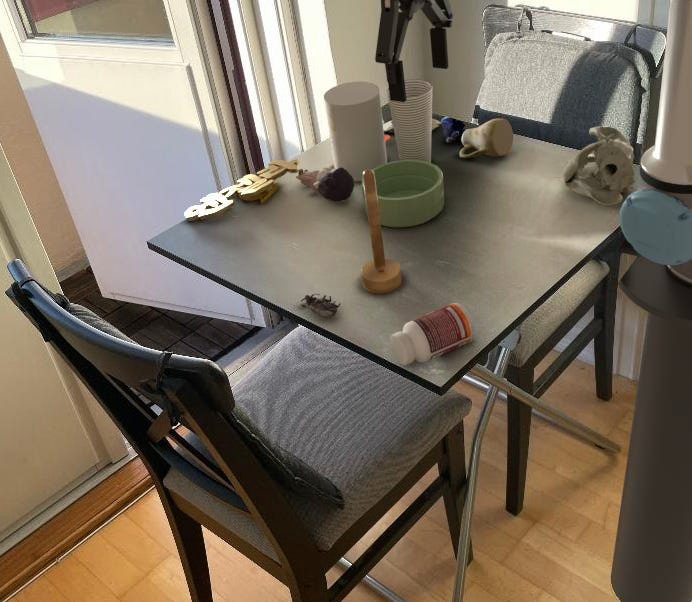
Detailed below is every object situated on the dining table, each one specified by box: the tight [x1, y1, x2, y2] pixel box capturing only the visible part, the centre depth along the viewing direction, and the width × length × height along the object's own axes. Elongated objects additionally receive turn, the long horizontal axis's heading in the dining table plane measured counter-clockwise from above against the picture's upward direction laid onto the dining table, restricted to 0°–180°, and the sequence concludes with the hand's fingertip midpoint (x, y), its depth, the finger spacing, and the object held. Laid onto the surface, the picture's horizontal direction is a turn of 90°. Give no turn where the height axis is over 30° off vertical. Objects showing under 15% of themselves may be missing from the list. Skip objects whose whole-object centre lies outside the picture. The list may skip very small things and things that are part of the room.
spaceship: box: [440, 115, 466, 144], centre depth 164 cm, size 7×6×5 cm
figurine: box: [295, 165, 356, 203], centre depth 154 cm, size 10×6×15 cm
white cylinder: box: [323, 81, 388, 182], centre depth 157 cm, size 10×10×16 cm
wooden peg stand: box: [360, 169, 403, 295], centre depth 125 cm, size 6×6×20 cm
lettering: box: [184, 158, 300, 222], centre depth 158 cm, size 25×10×1 cm, turn 124°
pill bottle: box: [389, 302, 475, 366], centre depth 115 cm, size 6×6×11 cm
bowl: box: [361, 159, 445, 228], centre depth 146 cm, size 14×14×6 cm
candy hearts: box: [383, 119, 392, 144], centre depth 169 cm, size 8×8×1 cm
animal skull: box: [562, 125, 636, 206], centre depth 142 cm, size 18×12×13 cm
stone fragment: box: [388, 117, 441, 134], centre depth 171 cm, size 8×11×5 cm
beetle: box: [300, 293, 341, 318], centre depth 127 cm, size 4×7×3 cm, turn 29°
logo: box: [237, 182, 279, 204], centre depth 160 cm, size 7×1×8 cm
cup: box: [386, 78, 433, 163], centre depth 155 cm, size 8×8×16 cm
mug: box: [459, 118, 514, 159], centre depth 158 cm, size 8×10×10 cm
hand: (420, 83), depth 136 cm, fingers open, 13 cm apart
